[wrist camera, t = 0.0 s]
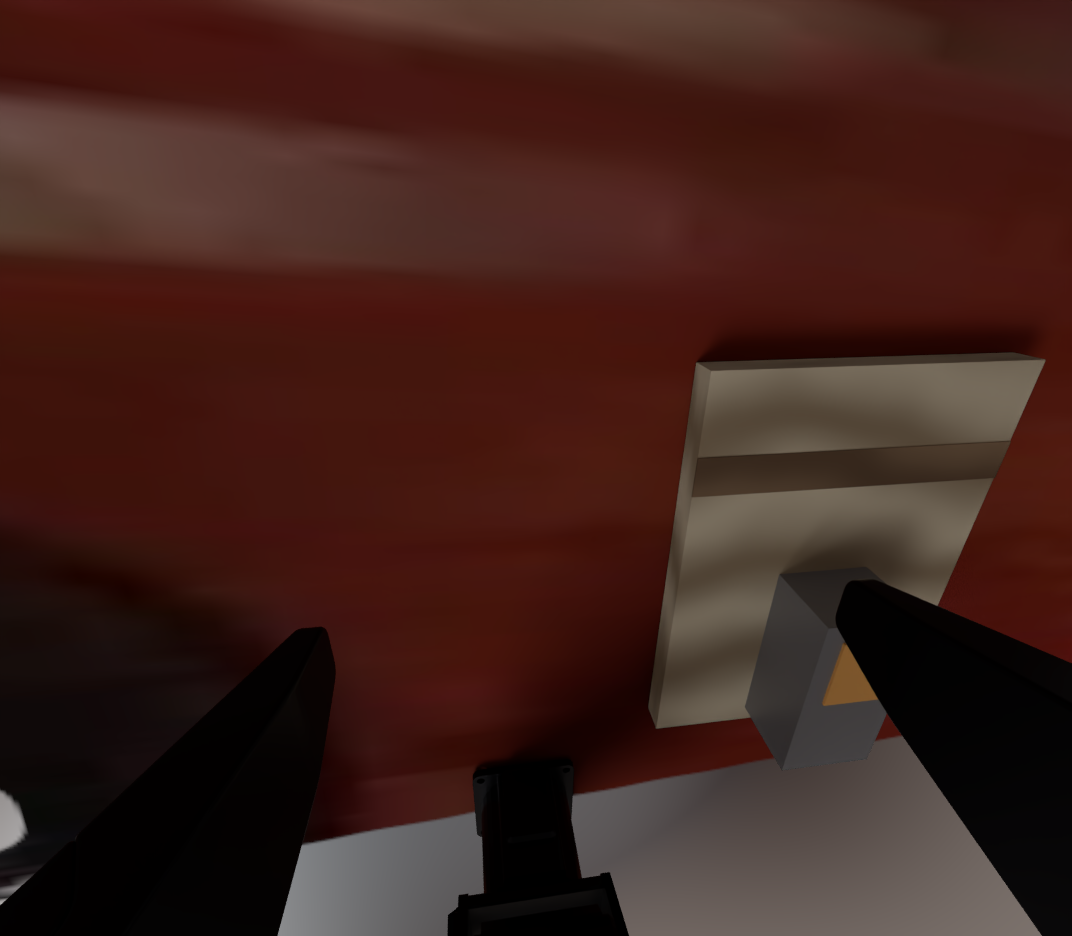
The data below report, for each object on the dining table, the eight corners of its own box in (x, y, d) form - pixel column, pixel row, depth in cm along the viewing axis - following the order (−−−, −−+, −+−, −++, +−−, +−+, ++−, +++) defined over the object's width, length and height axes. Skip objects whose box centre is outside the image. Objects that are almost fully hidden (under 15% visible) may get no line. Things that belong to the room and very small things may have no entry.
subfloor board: (878, 681, 34) (896, 700, 32) (648, 707, 32) (656, 729, 30) (1013, 352, 24) (1046, 360, 23) (696, 362, 22) (711, 371, 21)
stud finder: (820, 698, 31) (868, 761, 28) (744, 707, 31) (783, 772, 27) (866, 566, 27) (930, 620, 23) (779, 574, 26) (830, 631, 23)
